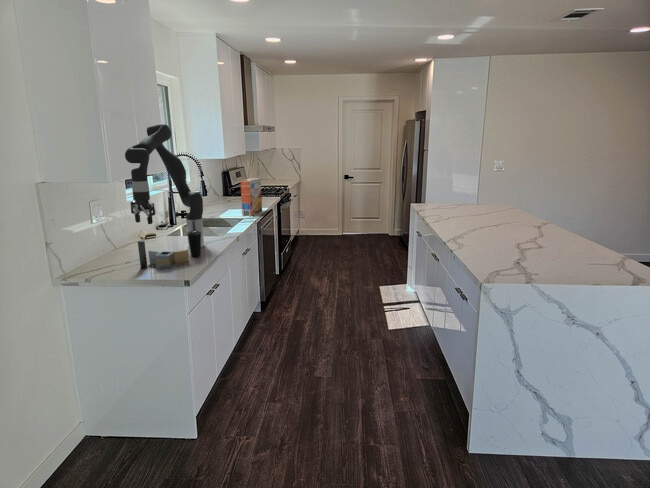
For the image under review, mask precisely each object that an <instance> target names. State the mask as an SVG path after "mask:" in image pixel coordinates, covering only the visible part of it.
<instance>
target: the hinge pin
mask: <svg viewBox="0 0 650 488" xmlns="http://www.w3.org/2000/svg"><path fill="white" fill-rule="evenodd" d="M137 246H138V247H137V249H138V257H139V266H140V269H141V270H146V269H148V259H147V251H146V242H145V240H139V241H137Z"/></svg>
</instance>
